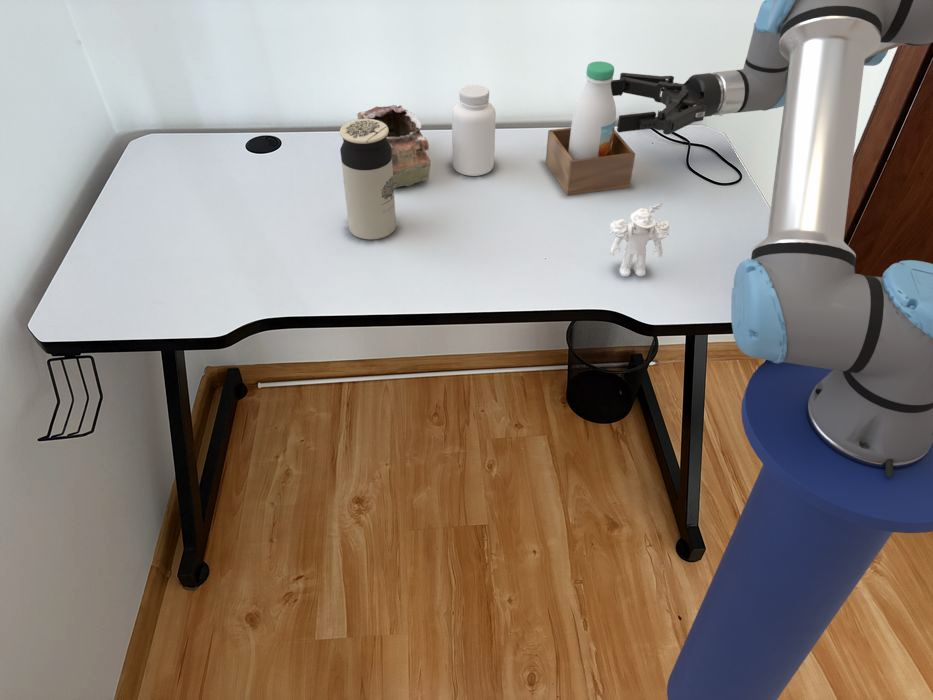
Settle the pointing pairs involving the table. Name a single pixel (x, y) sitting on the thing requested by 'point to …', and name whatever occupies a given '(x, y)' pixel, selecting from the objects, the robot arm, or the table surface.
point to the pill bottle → (473, 131)
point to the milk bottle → (594, 115)
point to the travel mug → (368, 178)
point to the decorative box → (403, 144)
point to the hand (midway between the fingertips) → (603, 106)
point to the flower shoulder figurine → (638, 238)
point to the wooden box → (588, 165)
